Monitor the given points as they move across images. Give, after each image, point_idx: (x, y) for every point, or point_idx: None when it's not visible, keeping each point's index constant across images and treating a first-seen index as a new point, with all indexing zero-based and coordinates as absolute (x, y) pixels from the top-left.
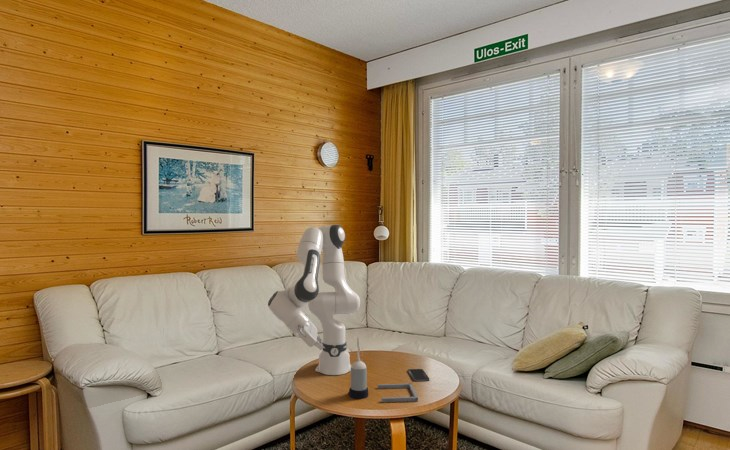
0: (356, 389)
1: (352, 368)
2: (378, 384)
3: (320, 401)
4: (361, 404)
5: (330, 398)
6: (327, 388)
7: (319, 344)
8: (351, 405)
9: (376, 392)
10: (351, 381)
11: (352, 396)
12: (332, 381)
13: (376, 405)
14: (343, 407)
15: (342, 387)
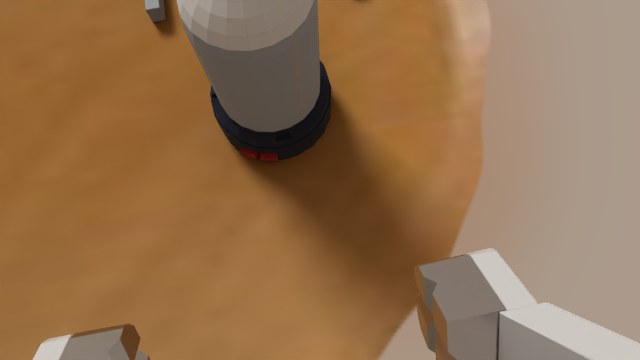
0: (319, 87)
1: (290, 34)
2: (146, 5)
3: (399, 322)
4: (400, 77)
5: (341, 265)
6: (169, 321)
7: (576, 333)
8: (423, 125)
9: None
10: (290, 101)
11: (322, 130)
12: (32, 312)
13: (399, 6)
14: (460, 164)
15: (149, 222)
